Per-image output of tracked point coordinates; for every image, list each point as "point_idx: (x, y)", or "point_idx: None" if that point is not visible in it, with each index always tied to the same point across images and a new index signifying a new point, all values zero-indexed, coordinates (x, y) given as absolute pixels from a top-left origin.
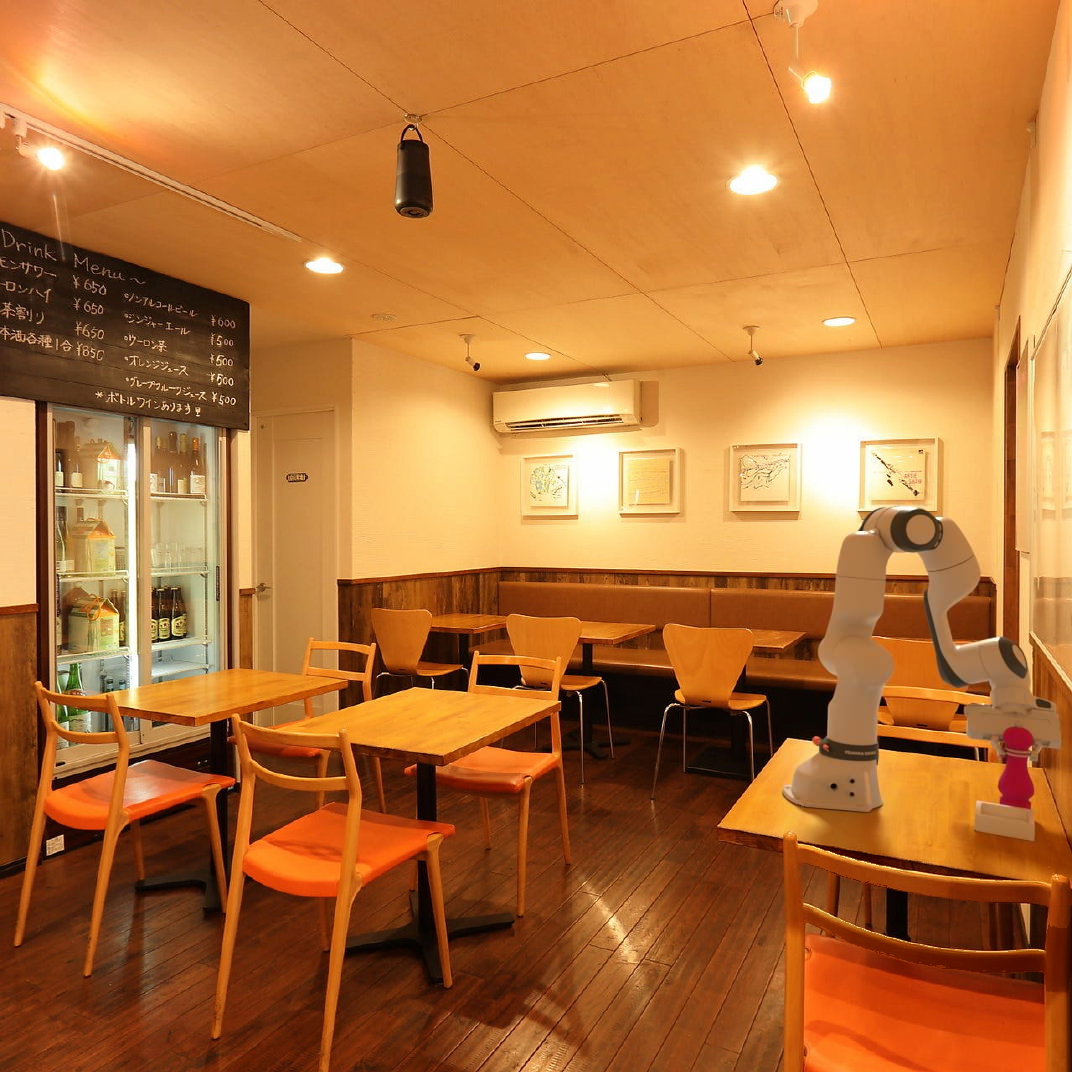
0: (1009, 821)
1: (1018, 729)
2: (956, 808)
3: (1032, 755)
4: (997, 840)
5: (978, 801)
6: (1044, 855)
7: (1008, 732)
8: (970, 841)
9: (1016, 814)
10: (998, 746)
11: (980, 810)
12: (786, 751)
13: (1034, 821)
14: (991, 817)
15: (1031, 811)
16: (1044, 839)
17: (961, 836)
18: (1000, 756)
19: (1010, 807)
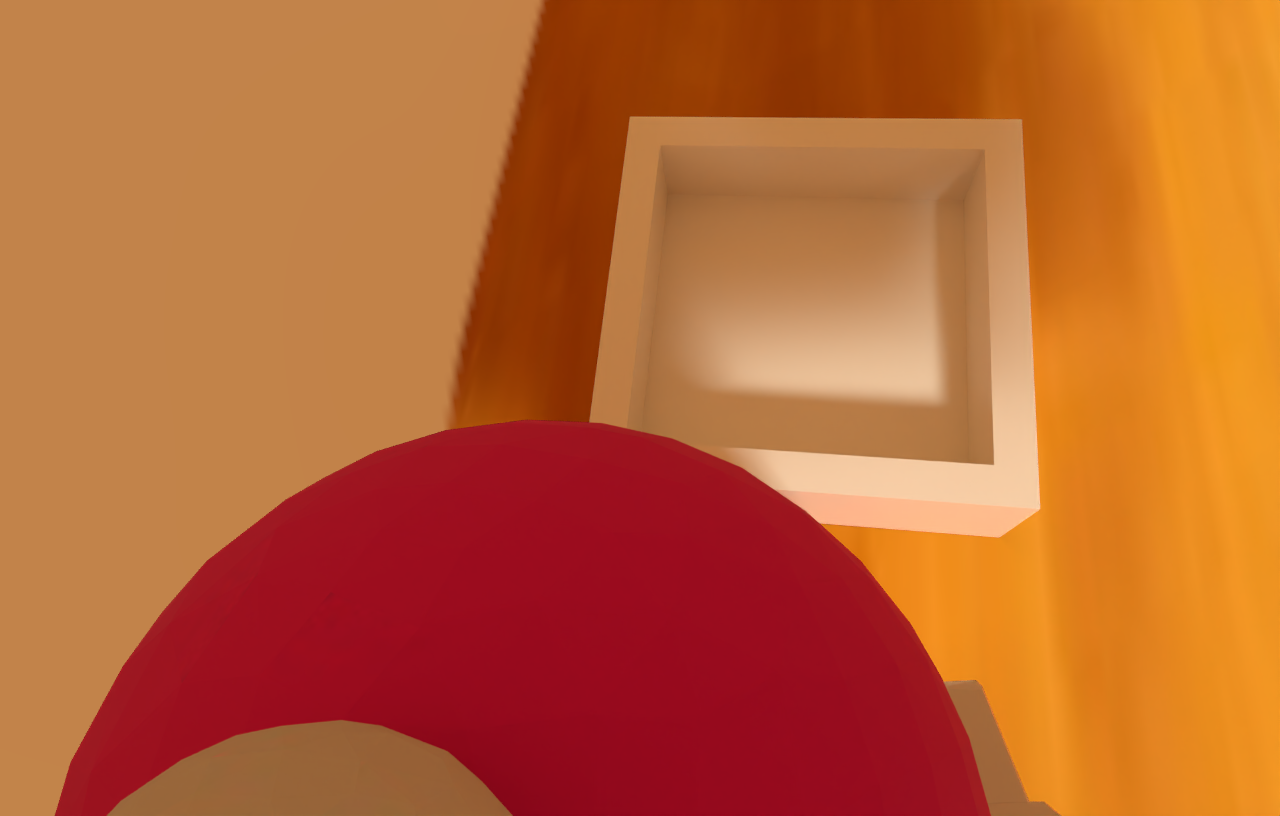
0: (785, 122)
1: (467, 584)
2: (1174, 678)
3: None
4: (849, 96)
5: (1022, 480)
6: (624, 7)
7: (852, 601)
8: (996, 2)
9: None
10: (1018, 803)
11: (988, 233)
12: None
13: (621, 182)
14: (904, 120)
15: (604, 419)
16: (578, 257)
17: (1054, 53)
18: None
19: (757, 451)
